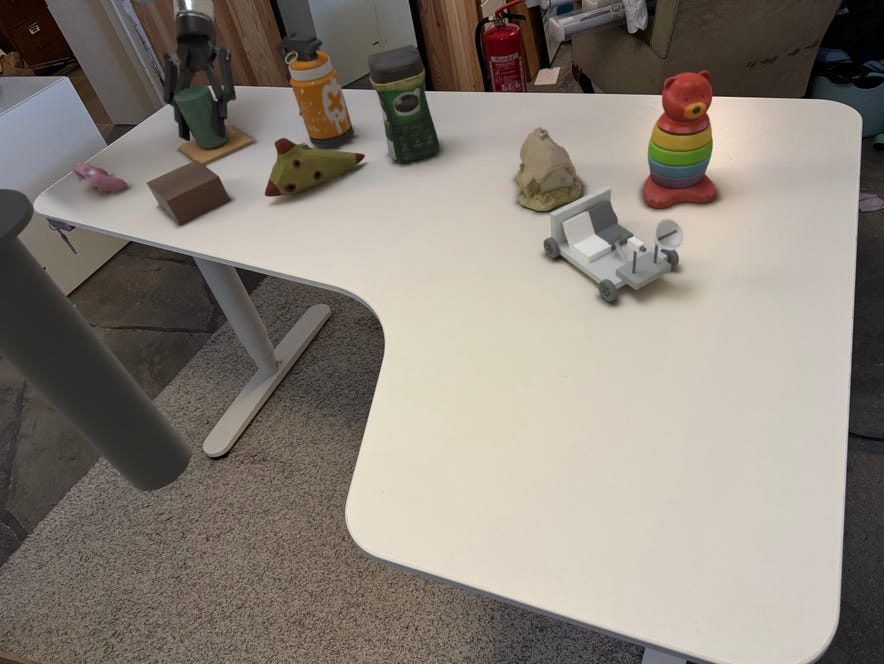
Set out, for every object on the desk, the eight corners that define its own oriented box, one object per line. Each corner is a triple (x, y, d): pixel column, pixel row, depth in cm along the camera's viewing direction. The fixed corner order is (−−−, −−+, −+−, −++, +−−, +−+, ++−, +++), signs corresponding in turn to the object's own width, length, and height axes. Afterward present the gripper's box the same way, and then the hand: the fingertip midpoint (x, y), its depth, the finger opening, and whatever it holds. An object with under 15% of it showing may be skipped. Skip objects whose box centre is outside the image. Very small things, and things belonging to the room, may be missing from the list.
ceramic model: (593, 200, 97) (594, 142, 90) (526, 217, 96) (522, 159, 89) (563, 160, 107) (562, 104, 99) (502, 175, 106) (496, 120, 98)
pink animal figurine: (95, 190, 124) (62, 170, 118) (108, 172, 125) (75, 151, 119) (117, 203, 119) (83, 182, 113) (130, 184, 120) (97, 162, 114)
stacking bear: (648, 210, 93) (658, 95, 80) (634, 176, 100) (642, 66, 87) (719, 202, 92) (741, 84, 80) (701, 168, 99) (718, 56, 87)
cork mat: (179, 149, 129) (177, 146, 129) (229, 127, 134) (228, 124, 134) (201, 166, 123) (200, 163, 122) (253, 142, 127) (252, 139, 127)
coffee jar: (433, 137, 119) (414, 36, 105) (444, 154, 113) (425, 50, 100) (385, 150, 117) (360, 49, 104) (394, 168, 112) (369, 65, 99)
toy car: (702, 217, 74) (630, 255, 71) (692, 279, 81) (626, 316, 78) (606, 163, 85) (540, 194, 82) (604, 222, 93) (543, 252, 89)
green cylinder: (192, 142, 128) (168, 95, 121) (221, 129, 131) (200, 82, 124) (205, 151, 124) (181, 103, 117) (235, 138, 127) (214, 90, 120)
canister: (334, 153, 119) (300, 46, 105) (295, 144, 124) (257, 41, 110) (363, 132, 124) (334, 27, 110) (324, 124, 129) (291, 23, 114)
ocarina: (360, 157, 117) (346, 106, 109) (373, 167, 113) (359, 115, 106) (264, 199, 110) (241, 148, 103) (274, 210, 107) (252, 159, 100)
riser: (159, 206, 113) (146, 182, 110) (208, 183, 117) (196, 159, 114) (180, 225, 108) (166, 200, 104) (230, 200, 111) (218, 176, 108)
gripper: (250, 26, 125) (257, 138, 126) (161, 37, 127) (168, 147, 128) (231, 7, 117) (238, 126, 118) (137, 19, 120) (145, 135, 121)
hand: (202, 136), depth 123 cm, fingers closed on green cylinder, 7 cm apart
